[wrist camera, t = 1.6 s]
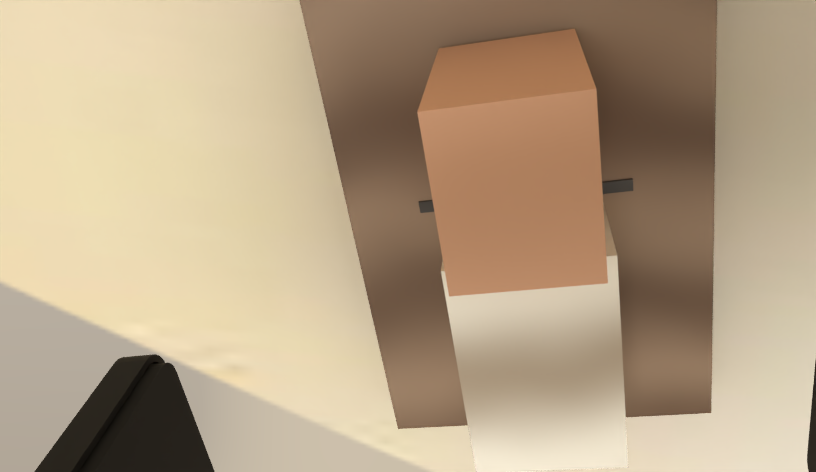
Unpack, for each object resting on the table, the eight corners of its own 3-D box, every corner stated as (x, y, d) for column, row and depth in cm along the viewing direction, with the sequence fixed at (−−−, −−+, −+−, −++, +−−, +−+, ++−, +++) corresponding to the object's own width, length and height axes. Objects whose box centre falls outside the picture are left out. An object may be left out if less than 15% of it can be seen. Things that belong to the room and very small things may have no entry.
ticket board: (701, 387, 29) (740, 495, 24) (402, 404, 31) (383, 506, 26) (707, -351, 19) (775, -418, 14) (257, -248, 21) (183, -275, 16)
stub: (585, 185, 24) (607, 283, 18) (461, 198, 24) (448, 296, 19) (574, 28, 22) (596, 88, 16) (438, 48, 22) (417, 111, 17)
